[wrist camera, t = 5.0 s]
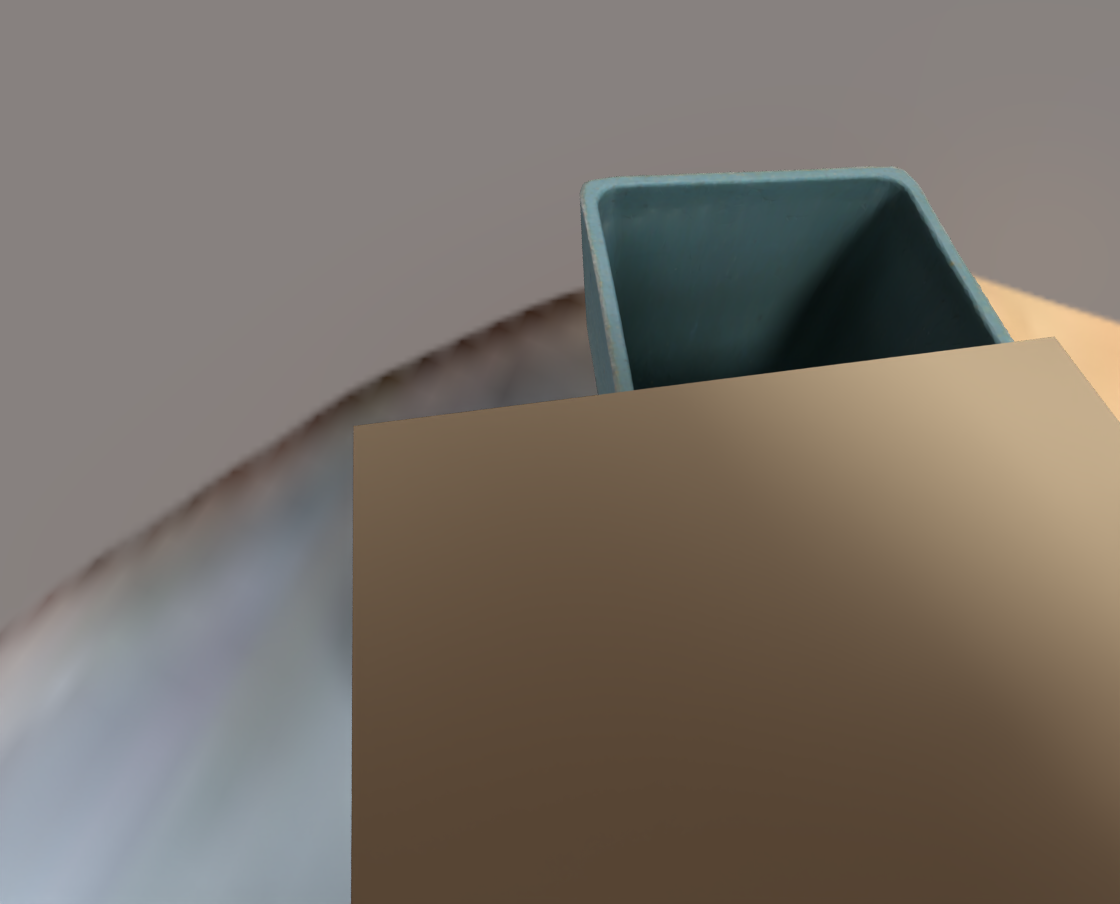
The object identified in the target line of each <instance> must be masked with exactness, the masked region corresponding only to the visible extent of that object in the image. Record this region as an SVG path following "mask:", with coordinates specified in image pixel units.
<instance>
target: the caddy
mask: <svg viewBox="0 0 1120 904" xmlns="http://www.w3.org/2000/svg"><path fill="white" fill-rule="evenodd" d="M351 904H1120V422H1119V421H1118V420H1117V418H1116V417H1115V416H1114V414H1113V413H1112V412H1111V410H1110V409H1109V408H1108V406H1107V405H1106V404H1105V402H1104V401H1103V400H1102V399H1101V397H1100V396H1099V395H1098V393H1097V392H1096V391H1095V389H1094V388H1093V387H1092V385H1091V384H1090V383H1089V381H1088V380H1087V379H1086V377H1085V376H1084V375H1083V373H1082V372H1081V371H1080V370H1079V368H1078V367H1077V366H1076V364H1075V363H1074V362H1073V360H1072V359H1071V358H1070V356H1069V355H1068V354H1067V352H1066V351H1065V350H1064V348H1063V347H1062V346H1061V344H1060V343H1059V342H1058V341H1057V339H1056V338H1055V337H1048V338H1040V339H1033V340H1025V341H1017V342H1009V343H1001V344H993V345H986V346H978V347H970V348H962V349H954V350H946V351H938V352H931V353H923V354H915V355H907V356H899V357H891V358H884V359H876V360H868V361H860V362H852V363H844V364H836V365H829V366H821V367H813V368H805V369H797V370H789V371H782V372H774V373H766V374H758V375H750V376H742V377H734V378H727V379H719V380H711V381H703V382H695V383H687V384H680V385H672V386H664V387H656V388H648V389H640V390H632V391H625V392H617V393H609V394H601V395H593V396H585V397H578V398H570V399H562V400H554V401H546V402H538V403H530V404H523V405H515V406H507V407H499V408H491V409H483V410H476V411H468V412H460V413H452V414H444V415H436V416H428V417H421V418H413V419H405V420H397V421H389V422H381V423H374V424H366V425H358V426H354V447H353V644H352V842H351Z"/></svg>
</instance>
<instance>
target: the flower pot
mask: <svg viewBox="0 0 1120 904" xmlns="http://www.w3.org/2000/svg"><path fill="white" fill-rule="evenodd" d="M580 207H581V228H582V249H583V268H584V285H585V303H586V320H587V330H588V337H589V343H590V349H591V354H592V360H593V366H594V372H595V379H596V385H597V392H598V395H601V394H609V393H617V392H625V391H632V390H640V389H648V388H656V387H664V386H672V385H680V384H687V383H695V382H703V381H711V380H719V379H727V378H734V377H742V376H750V375H758V374H766V373H774V372H782V371H789V370H797V369H805V368H813V367H821V366H829V365H836V364H844V363H852V362H860V361H868V360H876V359H884V358H891V357H899V356H907V355H915V354H923V353H931V352H938V351H946V350H954V349H962V348H970V347H978V346H986V345H993V344H1001V343H1009V342H1014V341H1013V339H1012V338H1011V337H1010V334H1009V333H1008V331H1007V329H1006V328H1005V327H1004V326H1003V323H1002V322H1001V320H1000V319H999V317H998V315H997V314H996V312H995V311H994V309H993V308H992V306H991V305H990V303H989V301H988V299H987V297H986V296H985V295H984V293H983V292H982V290H981V287H980V285H979V284H978V283H977V281H976V279H975V278H974V277H973V276H972V274H971V273H970V271H969V270H968V268H967V266H966V265H965V263H964V261H963V259H962V258H961V257H960V255H959V253H958V252H957V250H956V249H955V247H954V245H953V244H952V242H951V238H950V237H949V236H948V234H947V233H946V231H945V229H944V227H943V226H942V225H941V224H940V221H939V219H938V217H937V216H936V214H935V212H934V211H933V209H932V207H931V205H930V204H929V202H928V200H927V198H926V196H925V194H924V192H923V191H922V190H921V188H920V186H919V185H918V183H917V182H916V181H915V180H914V179H913V178H912V177H911V176H910V175H909V174H908V173H907V172H906V171H904V170H902V169H900V168H898V167H892V166H890V167H872V166H868V167H845V168H835V169H833V168H830V169H826V168H822V169H805V170H780V171H779V170H778V171H762V172H724V173H706V174H703V173H696V174H695V173H694V174H673V175H639V176H620V177H619V176H616V177H608V178H602V179H595V180H591V181H588V182H586V183H584V184H583V186H582V188H581V191H580Z"/></svg>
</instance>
